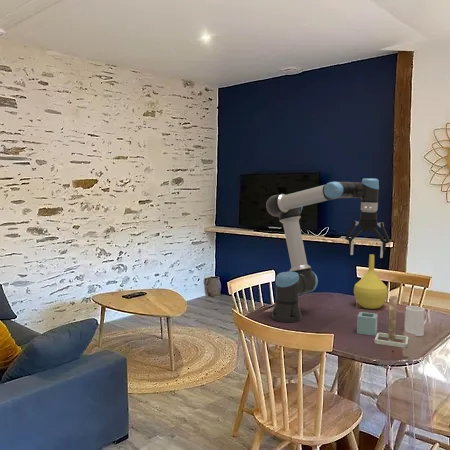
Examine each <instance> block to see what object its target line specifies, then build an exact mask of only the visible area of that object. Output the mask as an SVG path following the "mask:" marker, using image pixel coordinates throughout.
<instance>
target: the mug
mask: <svg viewBox="0 0 450 450" xmlns="http://www.w3.org/2000/svg"><path fill="white" fill-rule="evenodd" d="M427 321H428V314H427V311H426V310H425V308H424V307H422V306H416V305H408V306H405V323H404V332H406V333H408V334H413V335H414V337H423V336H424V335H425V325H426V323H427Z"/></svg>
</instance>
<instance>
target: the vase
mask: <svg viewBox="0 0 450 450" xmlns="http://www.w3.org/2000/svg"><path fill="white" fill-rule="evenodd" d="M388 292H389V290H388V286H387V285H386V284H385V283H384V282H383V280H381V278H380V277H379V276H378V274H377V273H376V272H375V254H373V253H372V254H369V257H368V270H367V272H366V273H365V274H364V275H363V276H362V278H361V279H359V281H357V282H356V283H355V284H354V287H353V294H354V295H353V296H354V297H355V300H356V303H357V304H358V305H359V306H360V307H362V308H365V309H369V310H370V309H371V310H376V309H380V308H381V307H382V306H383V305H384V304H385V302H386V300H387V298H388Z"/></svg>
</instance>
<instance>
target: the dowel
mask: <svg viewBox="0 0 450 450" xmlns="http://www.w3.org/2000/svg"><path fill="white" fill-rule="evenodd" d="M397 298H398V297H397V296H396V295H391V296H389V307H388V308H389V310H388V311H389V312H388V333H387V334H388V338H387V341H392V342H396V339H395V335H396V328H397V327H396V326H397V325H396V324H397V304H398V303H397Z"/></svg>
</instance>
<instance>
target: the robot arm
mask: <svg viewBox="0 0 450 450" xmlns="http://www.w3.org/2000/svg"><path fill="white" fill-rule="evenodd" d="M379 184H380V182H379V179H378V178H365V177H364V178H362V180H361V182H358V181H357V182H355V181H352V182H351V181H329V182H327V183H326V184H323V185H319V186H315V187H311V188H307V189H303V190H300V191H299V190H298V191H296V192H292V193H288V194H284V193H280V194H275V195H271V196H270V197H269V198H268V199H267V200H266V202H265V203H266V205H265V208H266V210H267V213H269V215H270V216H272V217H277V218H278V220H279V222H280V223H281V224H282V226H283V231H284V235H285V241H286V246H287V250H288V257H289V262H290V266H291V267H290V269H289V270H287V271H283V272H279V273H278V274H277V275H276V277H275V281H274V282H275V302H274V303H275V304H274V306H273V308H272V313H271V319H273V320H274V321H277V322H282V323H296V322H300V321H301V320H302V312H301V308H300V305H299V296H302V295H306V294H310V293H312V292H313V291H315V290H316V288H317V287H318V283H319V280H318V276H317V274H316V273H315V271H312V267H311V265H309V264H308V260H307V255H306V251H305V246H304V240H303V235H302V230H301V225H300V219H301V218H302V217H301V213H302V210H303V207H305V206H310V205H314V204H318V203H323V202H326V201H333V200H336V199H360V201H361V202H360V215H359V216H360V217H359V218H360V219H359V221H357V220H353V221H352V224H351V225H352V226H351V227H350V229H349V231H348V232H347V234H346V235H345V237H344V239H345V240H347V241H348V248H349V249H350V256H353V255H354V244H355V242H354V241H353V240H354V239H355V238H356V237H357V236H358V235H359V234H360V233H361V232H362V231H363V232H373V233H374V234H375V235H376V237H377V238H378V239H379V240H380V242H381V243H380V254H379V258H380V259H383V258H384V257H383V255H384V251H385V252H386V248H387V247H386V246H387V244H390V243H391V240H390V237H389V235H388V233H387V231H386V229H385V222H378V212H377V211H378V207H379V190H380V185H379ZM358 225H359V226H360V228H358V229H357V230H356V232H355V233H354V234H353V235H352V233H353V231H354V230H355V228H356V227H357V226H358ZM377 227H379V228H380V230H381V232H382V234H383V236H382V235H381V233H380V232H379V231H378V229H377Z"/></svg>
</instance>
